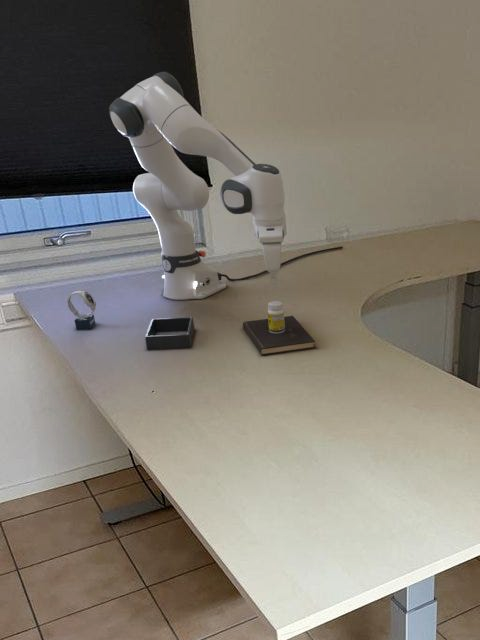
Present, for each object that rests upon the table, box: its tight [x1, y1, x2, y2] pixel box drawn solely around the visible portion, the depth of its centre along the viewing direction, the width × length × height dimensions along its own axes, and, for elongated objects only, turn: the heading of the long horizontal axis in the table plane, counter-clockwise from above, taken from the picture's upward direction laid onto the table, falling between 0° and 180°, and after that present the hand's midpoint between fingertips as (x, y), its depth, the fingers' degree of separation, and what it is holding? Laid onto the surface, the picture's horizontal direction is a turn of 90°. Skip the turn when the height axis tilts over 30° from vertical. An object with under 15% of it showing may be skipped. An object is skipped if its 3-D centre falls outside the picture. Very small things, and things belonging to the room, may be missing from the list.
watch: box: [66, 290, 97, 331], centre depth 228 cm, size 6×8×11 cm
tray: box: [144, 316, 195, 351], centre depth 220 cm, size 15×12×4 cm
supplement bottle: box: [267, 300, 285, 334], centre depth 217 cm, size 5×5×8 cm
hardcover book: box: [242, 315, 316, 357], centre depth 220 cm, size 16×23×2 cm
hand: (273, 278), depth 212 cm, fingers open, 8 cm apart
